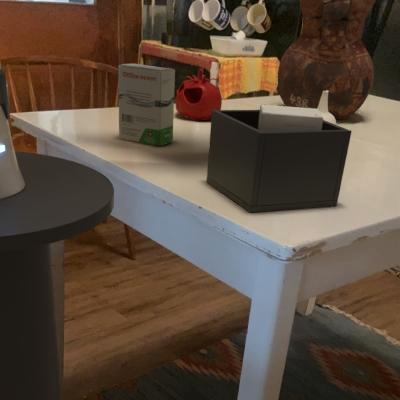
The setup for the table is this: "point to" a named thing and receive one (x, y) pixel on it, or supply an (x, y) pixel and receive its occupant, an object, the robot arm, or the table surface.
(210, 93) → the pomegranate
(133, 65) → the ink box
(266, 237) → the table surface
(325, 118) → the garlic bulb
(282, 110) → the small box
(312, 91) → the brown curved lobed piece
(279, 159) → the trash bin
